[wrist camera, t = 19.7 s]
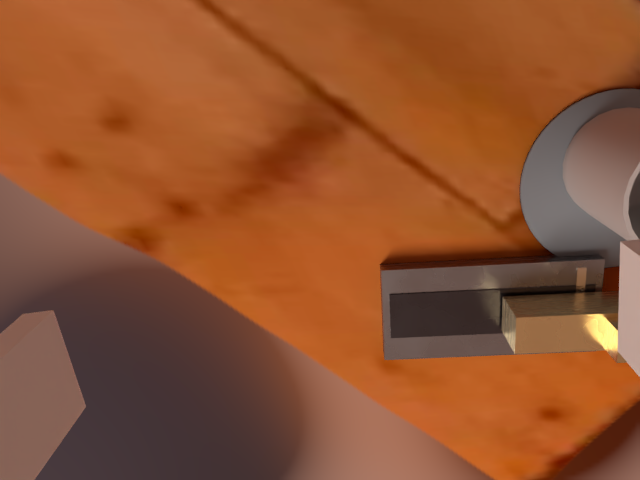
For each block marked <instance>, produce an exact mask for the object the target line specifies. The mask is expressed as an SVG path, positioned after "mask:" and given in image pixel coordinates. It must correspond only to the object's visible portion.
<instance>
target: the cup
mask: <svg viewBox="0 0 640 480" xmlns="http://www.w3.org/2000/svg"><path fill="white" fill-rule="evenodd" d="M563 180H564V184H565V187H566V191H567V192H568V194H569V195H570V197H571V198H572V200H573V201H574V202H575V203H576V204H577V205H578V206H579V207H580V208H582V209H583V210H584V211H585V212H586V213H588V214H589V215H591V216H592V217H593V218H595V219H596V220H598V221H599V222H601V223H602V224H604V225H605V226H607V227H608V228H609V229H611V230H612V231H614V232H615V233H617V234H618V235H620V236H621V237H623V238H624V239H625V240H627V241H629V240H637V239H640V108H631V107H627V108H620V109H613V110H610V111H608V112H605V113H602V114H600V115H598V116H596V117H595V118H593V119H592V120H590V121H589V122H588V123H586V124H585V125H584V126H583V127H582V128H581V129H580V130H579V131H578V132H577V133H576V135H575V136H574V137H573V139H572V141H571V143H570V144H569V146H568V148H567V150H566V154H565V157H564V161H563Z"/></svg>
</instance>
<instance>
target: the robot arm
mask: <svg viewBox="0 0 640 480" xmlns="http://www.w3.org/2000/svg"><path fill="white" fill-rule="evenodd" d="M618 352H619V353H620V355H621V356H622V357H623V358H624V359H625V360H626V362H627V363H628V364H629V365H630V366H631V367H632V369H633V370H634V371H635V372H636V373H637V374H638V375H639V377H640V239H637V240H629V241H620V271H619V311H618ZM85 407H86V405H85V402H84V399H83V396H82V393H81V390H80V387H79V384H78V381H77V378H76V376H75V373H74V370H73V367H72V364H71V361H70V358H69V355H68V352H67V349H66V346H65V343H64V340H63V338H62V334H61V331H60V328H59V325H58V323H57V320H56V317H55V314H54V311H53V310H52V311H44V312H36V313H27V314H23V315H22V316H20V317H19V318H18V319H17V320H16V321H15V322H13V323H12V324H11V325H10V326H9V327H8V328H6V329H5V330H4V331H3V332H2V333H1V334H0V480H34V479H35V478H36V477H37V475H38V474H39V472H40V471H41V470H42V468H43V467H44V465H45V464H46V462H47V461H48V460H49V458H50V457H51V455H52V454H53V453H54V451H55V450H56V448H57V447H58V445H59V444H60V443H61V441H62V440H63V438H64V437H65V436H66V434H67V433H68V431H69V430H70V429H71V427H72V426H73V424H74V423H75V421H76V420H77V418H78V417H79V416H80V414H81V413H82V412H83V410H84V409H85Z"/></svg>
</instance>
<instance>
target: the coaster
mask: <svg viewBox="0 0 640 480" xmlns="http://www.w3.org/2000/svg"><path fill="white" fill-rule="evenodd" d="M627 107H631V108H640V89H615V90H608V91H604V92H600V93H596V94H594V95H591V96H588V97H586V98H583V99H581V100H580V101H578V102H576V103H574V104H572V105H571V106H569V107H568V108H566V109H565V110H563V111H562V112H561V113H559V114H558V115H557V116H556V117H555V118H554V119H553V120H551V121H550V122H549V124H548V125H547V126H546V127H545V128H544V129H543V130H542V131H541V133H540V134H539V136H538V137H537V139H536V140H535V141H534V143H533V145H532V147H531V149H530V151H529V152H528V155H527V157H526V160H525V163H524V166H523V170H522V174H521V180H520V202H521V208H522V212H523V215H524V218H525V221H526V223H527V225H528V227H529V229H530V230H531V232H532V233H533V235H534V236H535V238H536V239H537V240H538V241H539V242H540V243H541V244H542V245H543V246H544V247H545V248H546V249H547V250H549V251H550V252H551V253H552V254H554V255H556V256H557V257H562V256H581V255H601V256H602V257H603V258H604V259H605V266H604V268H608V267H617V266H620V241H627V240H625V239H624V238H623V237H621V236H620V235H618V234H617V233H615V232H614V231H612V230H611V229H609V228H608V227H607V226H605V225H604V224H602V223H601V222H599V221H598V220H596V219H595V218H593V217H592V216H591V215H589V214H588V213H586V212H585V211H584V210H583V209H582V208H580V207H579V206H578V205H577V204H576V203H575V202H574V201H573V200H572V198H571V197H570V195H569V194H568V192H567V191H566V187H565V184H564V180H563V161H564V157H565V154H566V150H567V148H568V146H569V144H570V143H571V141H572V139H573V137H574V136H575V135H576V133H577V132H578V131H579V130H580V129H581V128H582V127H583V126H584V125H585V124H586V123H588V122H589V121H590V120H592V119H593V118H595V117H596V116H598V115H600V114H602V113H605V112H608V111H610V110H613V109H620V108H627Z"/></svg>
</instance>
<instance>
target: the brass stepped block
mask: <svg viewBox="0 0 640 480" xmlns="http://www.w3.org/2000/svg"><path fill="white" fill-rule="evenodd" d="M618 311H619V291H608V292H587V293H566V294H545V295H525V296H504V297H503V304H502V332H503V334H504V336H505V338H506V339H507V341H508V343H509V345H510V347H511V348H512V350H513V352H514V354H527V353H551V352H574V351H598V350H606V351H607V352H608V353H609V354H610V356H611V357H612V358H613V359H614V360H615V361H616V363H623V362H626V360H625V359H624V358H623V357H622V356H621V355H620V353H619V352H618Z"/></svg>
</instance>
